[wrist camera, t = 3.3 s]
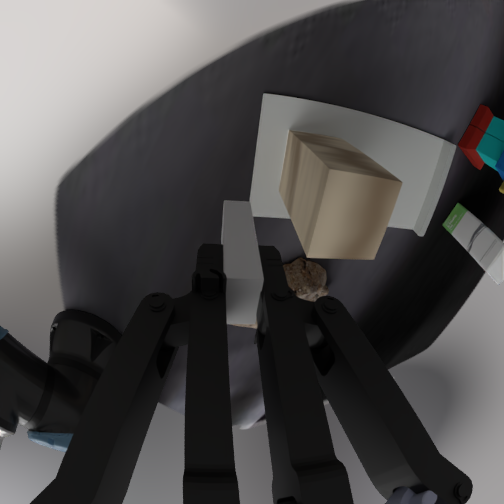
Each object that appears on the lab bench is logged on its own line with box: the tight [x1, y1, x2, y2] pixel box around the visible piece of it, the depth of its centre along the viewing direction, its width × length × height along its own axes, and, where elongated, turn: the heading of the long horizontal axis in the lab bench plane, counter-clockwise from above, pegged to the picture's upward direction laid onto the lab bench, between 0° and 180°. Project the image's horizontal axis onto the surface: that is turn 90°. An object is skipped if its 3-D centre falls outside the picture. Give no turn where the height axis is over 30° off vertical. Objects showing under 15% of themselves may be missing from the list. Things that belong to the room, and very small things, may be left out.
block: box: [278, 129, 403, 260], centre depth 24 cm, size 6×7×12 cm
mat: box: [249, 93, 456, 236], centre depth 29 cm, size 25×14×2 cm, turn 83°
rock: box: [231, 258, 329, 329], centre depth 39 cm, size 15×10×6 cm
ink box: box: [443, 203, 504, 285], centre depth 32 cm, size 9×5×12 cm, turn 62°
